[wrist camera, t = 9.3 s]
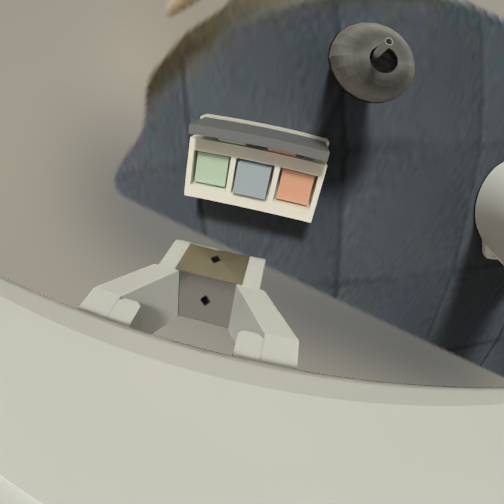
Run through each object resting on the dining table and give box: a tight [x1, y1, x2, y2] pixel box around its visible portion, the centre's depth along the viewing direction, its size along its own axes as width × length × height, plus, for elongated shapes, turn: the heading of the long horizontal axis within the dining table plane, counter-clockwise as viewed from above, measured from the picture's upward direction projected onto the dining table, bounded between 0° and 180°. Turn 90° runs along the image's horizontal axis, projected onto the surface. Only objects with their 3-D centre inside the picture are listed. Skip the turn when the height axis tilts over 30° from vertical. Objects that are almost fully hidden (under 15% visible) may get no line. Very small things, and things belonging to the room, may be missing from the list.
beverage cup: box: [328, 22, 415, 103], centre depth 21 cm, size 7×7×20 cm
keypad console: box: [184, 114, 330, 223], centre depth 34 cm, size 15×9×8 cm, turn 80°
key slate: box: [233, 159, 272, 200], centre depth 34 cm, size 4×4×2 cm
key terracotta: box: [276, 168, 315, 205], centre depth 35 cm, size 4×4×2 cm
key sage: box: [195, 151, 231, 187], centre depth 35 cm, size 4×4×2 cm
